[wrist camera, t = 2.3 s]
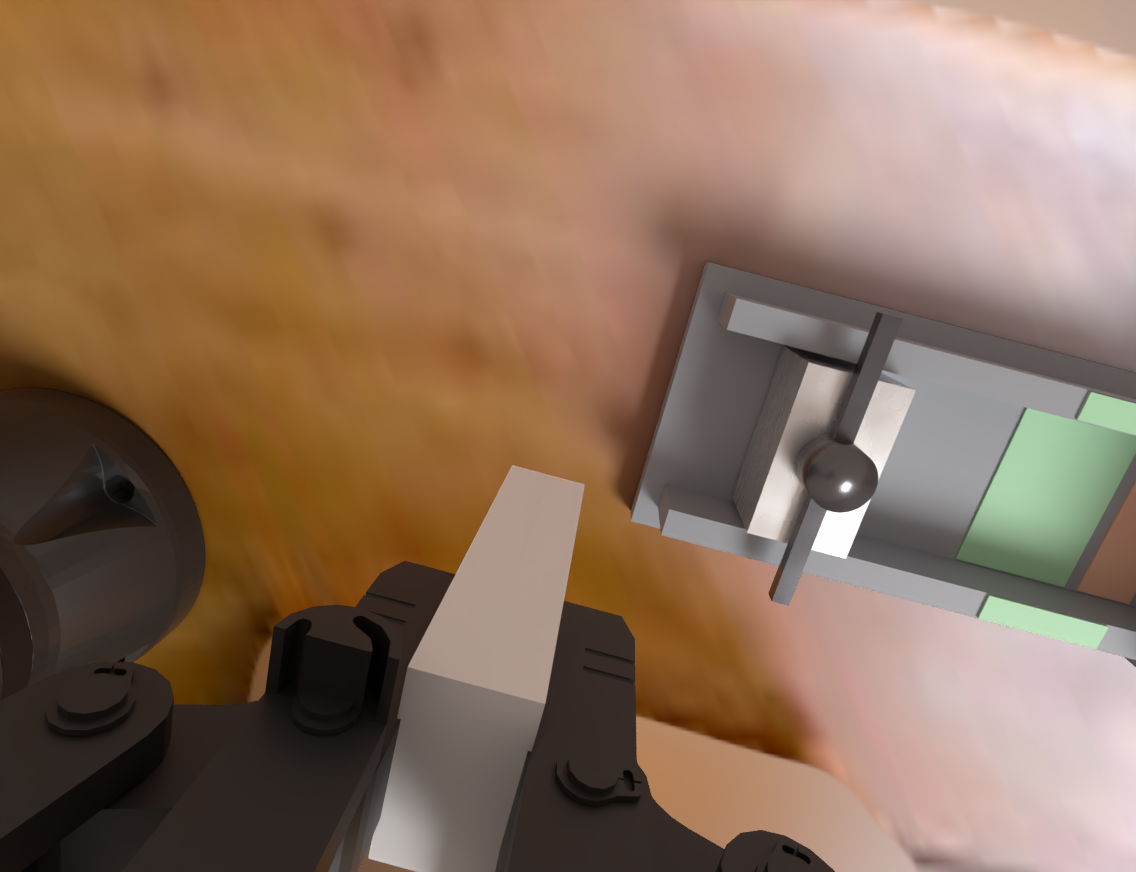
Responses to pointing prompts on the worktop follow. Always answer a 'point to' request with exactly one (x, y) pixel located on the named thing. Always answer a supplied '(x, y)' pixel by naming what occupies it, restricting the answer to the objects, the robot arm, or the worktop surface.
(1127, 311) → the worktop surface
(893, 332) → the slider
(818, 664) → the worktop surface
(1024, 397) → the gauge bed
